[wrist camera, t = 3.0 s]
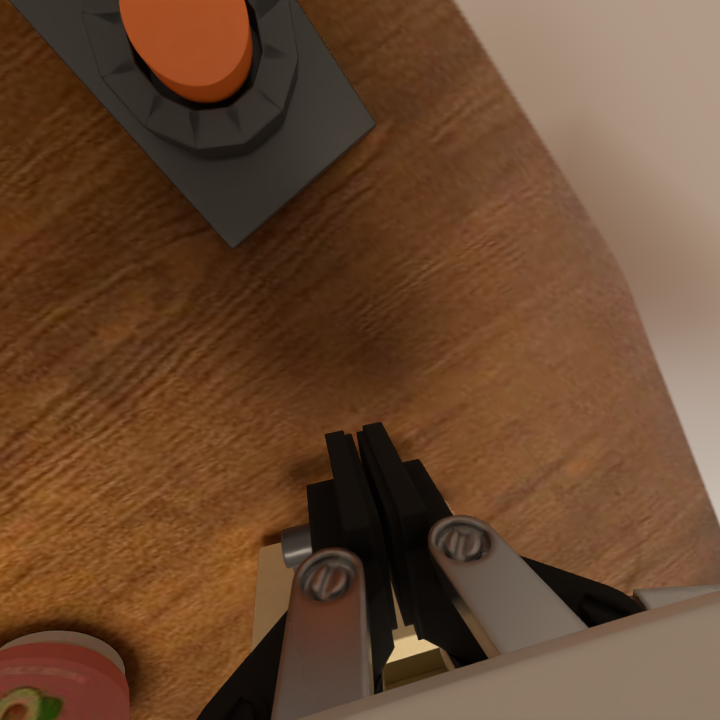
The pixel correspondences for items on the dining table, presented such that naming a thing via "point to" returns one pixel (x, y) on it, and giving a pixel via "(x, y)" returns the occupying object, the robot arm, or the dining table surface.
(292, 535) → the drawer
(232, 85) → the button
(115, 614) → the dining table surface
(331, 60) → the button box
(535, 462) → the dining table surface
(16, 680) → the container
